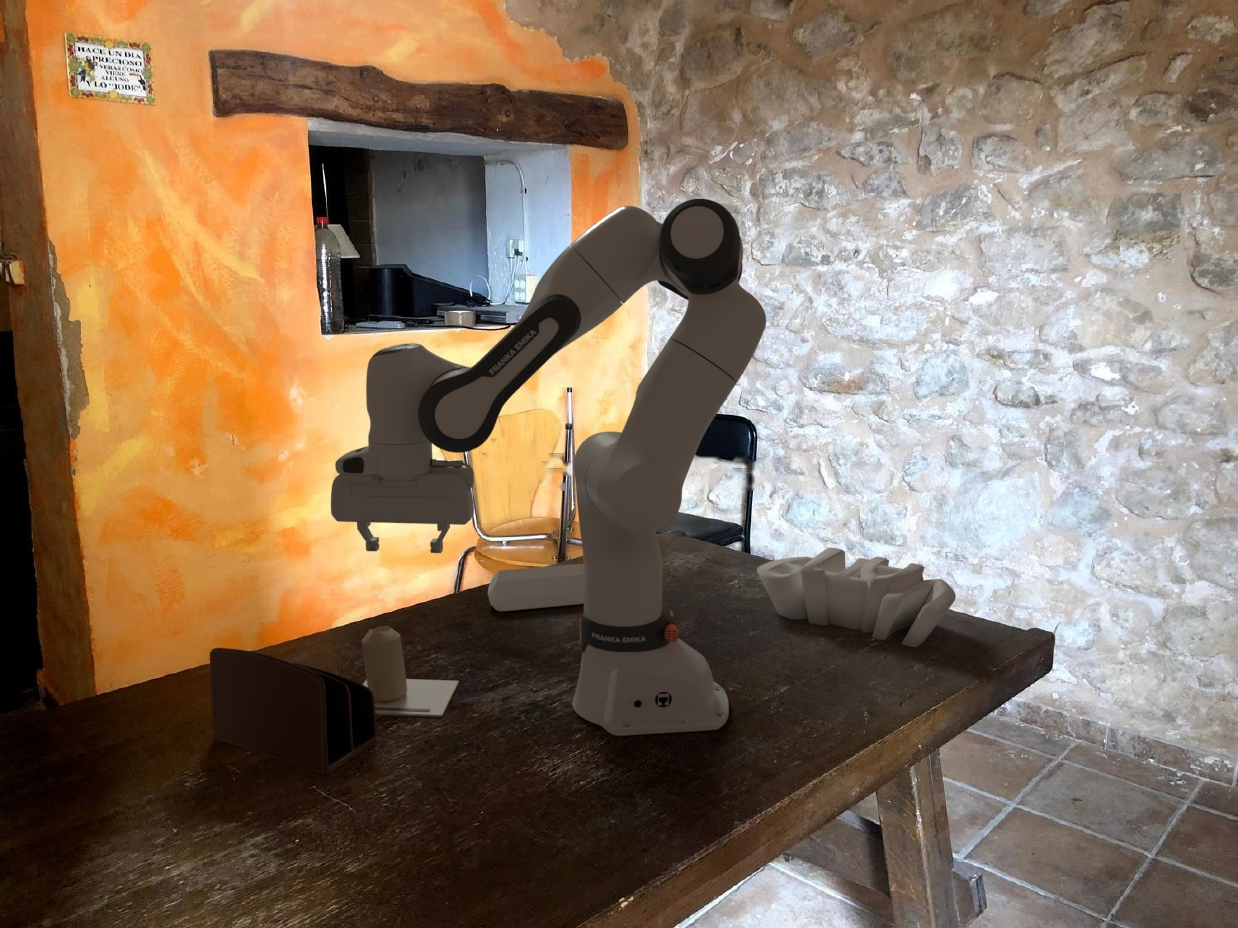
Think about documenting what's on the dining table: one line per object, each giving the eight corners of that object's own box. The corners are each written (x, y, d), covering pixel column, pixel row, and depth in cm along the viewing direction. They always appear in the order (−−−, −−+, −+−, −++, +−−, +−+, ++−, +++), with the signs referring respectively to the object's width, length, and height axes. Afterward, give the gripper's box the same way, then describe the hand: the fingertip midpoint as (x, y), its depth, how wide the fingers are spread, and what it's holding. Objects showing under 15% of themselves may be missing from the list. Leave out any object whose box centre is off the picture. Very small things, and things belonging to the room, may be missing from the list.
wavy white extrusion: (969, 631, 171) (975, 574, 168) (936, 663, 158) (941, 600, 155) (788, 588, 191) (791, 536, 189) (745, 612, 178) (747, 557, 176)
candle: (397, 701, 140) (388, 635, 139) (362, 701, 142) (353, 635, 140) (413, 686, 146) (405, 622, 144) (379, 686, 147) (370, 622, 145)
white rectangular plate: (458, 682, 149) (458, 680, 149) (442, 716, 138) (441, 714, 138) (367, 679, 150) (367, 677, 150) (344, 713, 139) (343, 710, 139)
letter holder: (325, 777, 123) (319, 673, 120) (212, 741, 131) (203, 642, 128) (378, 742, 131) (374, 643, 128) (269, 710, 140) (262, 617, 137)
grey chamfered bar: (606, 567, 190) (482, 578, 184) (615, 560, 184) (487, 570, 177) (611, 605, 188) (486, 617, 182) (620, 599, 182) (491, 611, 175)
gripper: (477, 455, 143) (479, 546, 146) (338, 452, 144) (343, 542, 147) (468, 465, 136) (471, 560, 140) (323, 461, 138) (329, 556, 141)
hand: (404, 551), depth 143 cm, fingers open, 8 cm apart
